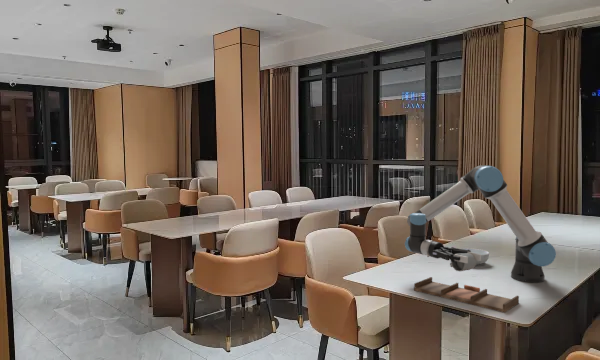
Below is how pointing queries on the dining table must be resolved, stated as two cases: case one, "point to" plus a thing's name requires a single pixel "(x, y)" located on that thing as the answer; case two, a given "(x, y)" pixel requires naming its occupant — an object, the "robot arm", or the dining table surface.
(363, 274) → the dining table surface
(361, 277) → the dining table surface
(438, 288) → the rack
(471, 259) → the ceramic mug
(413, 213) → the robot arm
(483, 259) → the cereal bowl
